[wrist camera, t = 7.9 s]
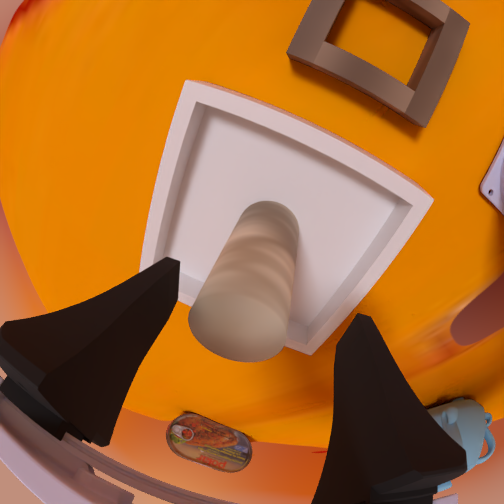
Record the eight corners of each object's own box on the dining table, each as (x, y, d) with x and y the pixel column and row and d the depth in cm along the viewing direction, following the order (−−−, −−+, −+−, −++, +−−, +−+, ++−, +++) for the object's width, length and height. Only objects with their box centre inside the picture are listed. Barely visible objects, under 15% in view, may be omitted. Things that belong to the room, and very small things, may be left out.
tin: (257, 437, 41) (247, 478, 34) (248, 440, 42) (238, 478, 35) (179, 404, 38) (162, 447, 31) (173, 408, 40) (157, 448, 33)
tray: (417, 183, 15) (434, 199, 13) (312, 329, 24) (310, 355, 21) (205, 81, 15) (185, 79, 12) (155, 260, 23) (138, 280, 20)
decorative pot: (458, 376, 24) (476, 470, 13) (491, 398, 26) (504, 466, 15) (367, 426, 33) (363, 505, 22) (417, 439, 35) (419, 501, 24)
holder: (456, 28, 9) (470, 23, 7) (413, 124, 13) (425, 127, 12) (337, -39, 8) (340, -52, 7) (289, 58, 13) (286, 52, 11)
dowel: (306, 210, 17) (299, 311, 9) (289, 261, 19) (272, 370, 12) (244, 193, 17) (190, 280, 10) (234, 246, 19) (187, 346, 12)
